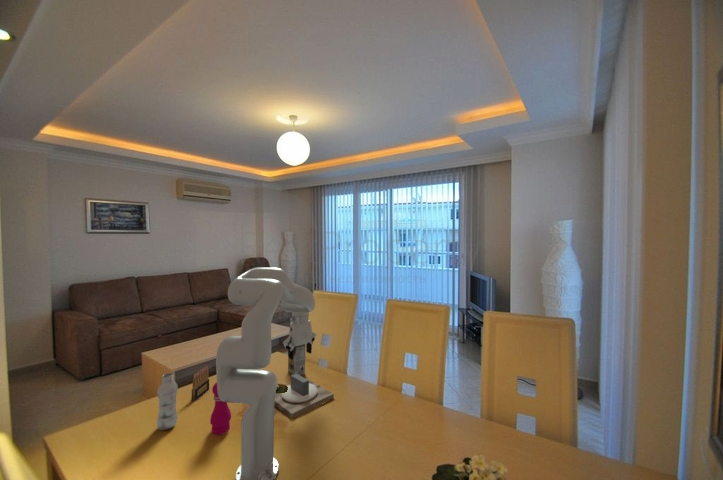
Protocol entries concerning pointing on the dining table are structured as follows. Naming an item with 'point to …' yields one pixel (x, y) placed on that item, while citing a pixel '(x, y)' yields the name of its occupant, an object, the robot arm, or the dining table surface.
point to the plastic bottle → (167, 403)
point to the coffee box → (297, 360)
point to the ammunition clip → (200, 384)
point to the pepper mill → (220, 414)
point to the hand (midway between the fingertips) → (300, 355)
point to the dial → (299, 390)
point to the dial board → (302, 407)
